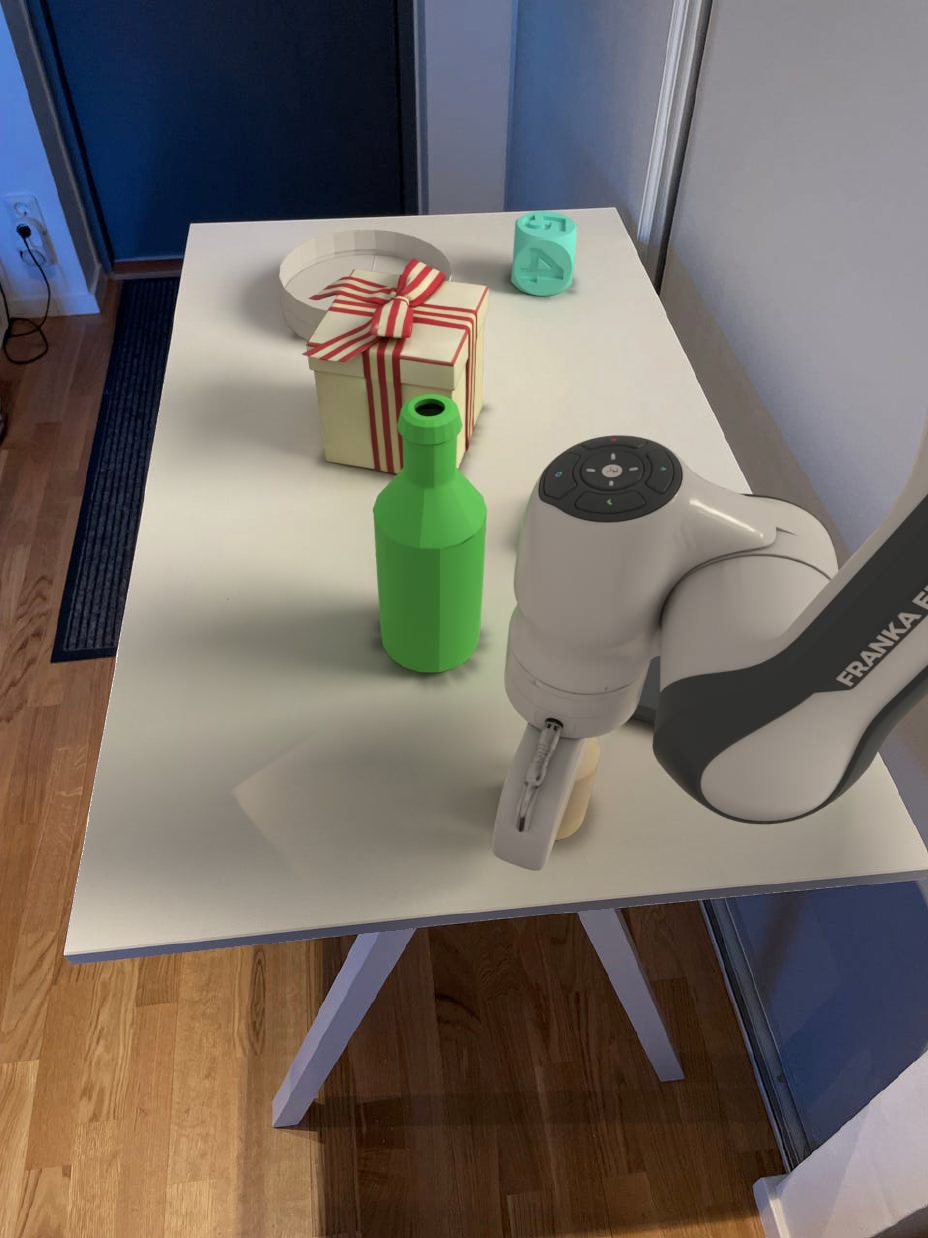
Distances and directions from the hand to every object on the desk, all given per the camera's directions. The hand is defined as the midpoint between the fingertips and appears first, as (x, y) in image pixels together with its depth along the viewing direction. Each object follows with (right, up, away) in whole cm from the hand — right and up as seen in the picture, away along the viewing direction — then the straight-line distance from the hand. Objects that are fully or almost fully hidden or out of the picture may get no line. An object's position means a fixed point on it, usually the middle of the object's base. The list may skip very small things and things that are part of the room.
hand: (552, 782), depth 68 cm
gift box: (-14, +32, +34) cm, 49 cm away
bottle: (-10, +10, +14) cm, 20 cm away
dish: (-19, +53, +52) cm, 77 cm away
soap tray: (+11, +8, +13) cm, 19 cm away
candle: (0, -3, +3) cm, 4 cm away
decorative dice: (+4, +58, +57) cm, 82 cm away
